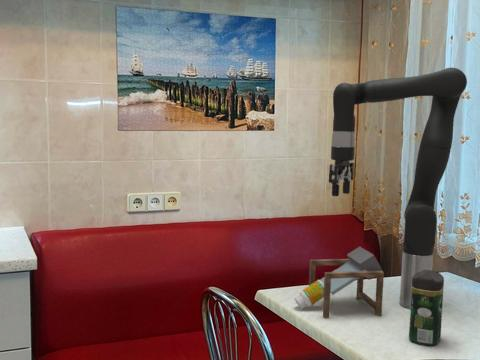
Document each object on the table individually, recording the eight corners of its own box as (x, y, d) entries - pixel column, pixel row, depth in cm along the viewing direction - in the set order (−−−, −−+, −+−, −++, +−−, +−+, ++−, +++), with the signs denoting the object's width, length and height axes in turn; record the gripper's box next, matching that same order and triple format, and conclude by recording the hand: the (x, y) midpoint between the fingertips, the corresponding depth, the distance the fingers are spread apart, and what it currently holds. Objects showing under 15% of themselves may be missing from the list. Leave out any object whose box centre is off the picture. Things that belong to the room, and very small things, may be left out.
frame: (360, 298, 178) (362, 258, 176) (381, 315, 162) (383, 272, 160) (308, 300, 174) (309, 259, 173) (324, 318, 159) (326, 273, 157)
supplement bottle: (325, 285, 164) (299, 302, 162) (330, 297, 166) (304, 314, 165) (316, 276, 168) (291, 293, 167) (321, 287, 171) (296, 304, 169)
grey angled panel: (367, 261, 174) (359, 246, 173) (383, 271, 163) (374, 255, 162) (323, 289, 173) (314, 274, 172) (336, 301, 161) (327, 285, 160)
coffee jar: (412, 330, 151) (417, 265, 149) (442, 336, 147) (447, 270, 145) (405, 342, 143) (409, 274, 141) (436, 349, 139) (441, 279, 137)
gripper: (341, 144, 183) (339, 191, 184) (322, 145, 171) (320, 195, 173) (362, 145, 178) (359, 193, 180) (344, 146, 167) (342, 198, 169)
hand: (340, 194), depth 176 cm, fingers open, 8 cm apart
